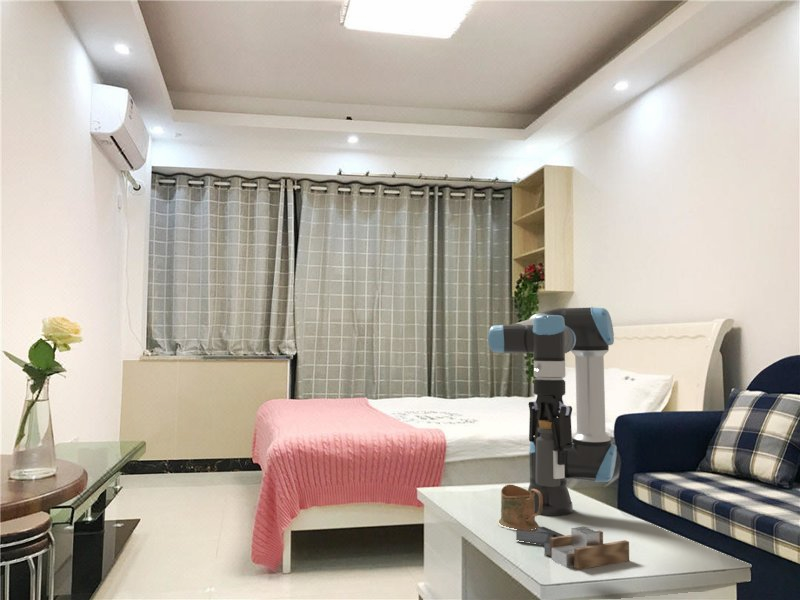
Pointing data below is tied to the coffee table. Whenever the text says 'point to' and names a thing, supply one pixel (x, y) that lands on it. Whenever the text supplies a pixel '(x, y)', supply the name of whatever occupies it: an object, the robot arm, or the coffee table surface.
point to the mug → (519, 507)
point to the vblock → (538, 537)
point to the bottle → (545, 455)
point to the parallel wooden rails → (594, 552)
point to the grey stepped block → (575, 545)
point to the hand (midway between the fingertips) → (550, 475)
